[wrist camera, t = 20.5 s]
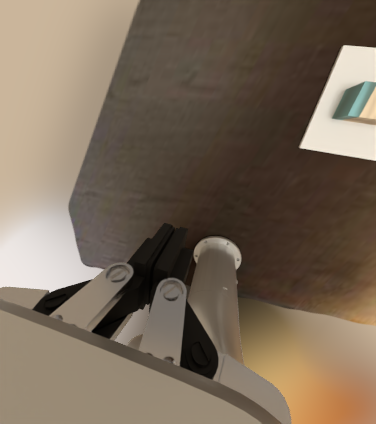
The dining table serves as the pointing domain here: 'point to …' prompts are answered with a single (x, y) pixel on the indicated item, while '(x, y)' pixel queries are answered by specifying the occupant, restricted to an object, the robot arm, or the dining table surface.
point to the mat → (328, 102)
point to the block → (358, 104)
